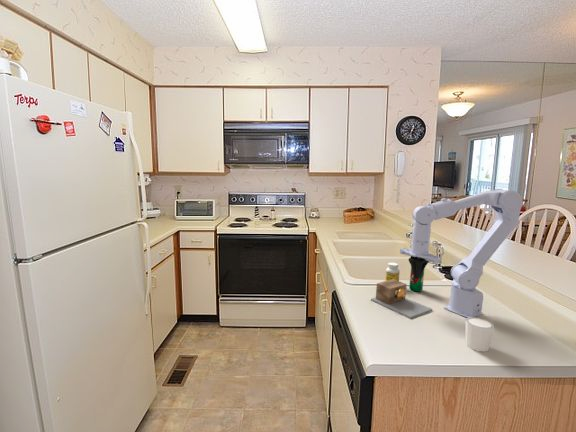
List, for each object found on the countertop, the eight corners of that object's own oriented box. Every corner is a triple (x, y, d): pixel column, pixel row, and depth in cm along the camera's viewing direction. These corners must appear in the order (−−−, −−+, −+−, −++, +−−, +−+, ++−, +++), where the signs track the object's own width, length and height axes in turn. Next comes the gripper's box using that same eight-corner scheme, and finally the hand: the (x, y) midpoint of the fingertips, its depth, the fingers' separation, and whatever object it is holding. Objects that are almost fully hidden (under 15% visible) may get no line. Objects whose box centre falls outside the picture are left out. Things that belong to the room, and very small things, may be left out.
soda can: (423, 293, 127) (426, 263, 125) (410, 291, 128) (412, 262, 126) (421, 288, 132) (423, 260, 130) (408, 287, 133) (410, 259, 131)
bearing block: (405, 299, 118) (406, 284, 117) (388, 304, 113) (389, 288, 112) (392, 294, 123) (393, 279, 122) (375, 298, 118) (376, 283, 117)
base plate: (432, 310, 111) (432, 309, 111) (410, 318, 104) (410, 316, 104) (392, 294, 125) (392, 292, 125) (370, 300, 118) (371, 298, 118)
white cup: (457, 339, 92) (460, 316, 91) (480, 339, 93) (482, 316, 91) (473, 353, 85) (476, 329, 84) (497, 352, 86) (500, 328, 85)
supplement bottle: (399, 285, 134) (401, 263, 133) (396, 289, 130) (398, 266, 129) (387, 282, 137) (388, 261, 136) (383, 286, 133) (384, 264, 131)
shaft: (405, 299, 115) (406, 288, 114) (398, 301, 113) (399, 290, 112) (383, 289, 123) (384, 280, 123) (376, 291, 121) (377, 281, 120)
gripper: (395, 237, 115) (392, 273, 117) (433, 246, 103) (429, 286, 105) (407, 235, 119) (404, 270, 121) (445, 244, 107) (441, 282, 109)
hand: (417, 278), depth 113 cm, fingers closed
